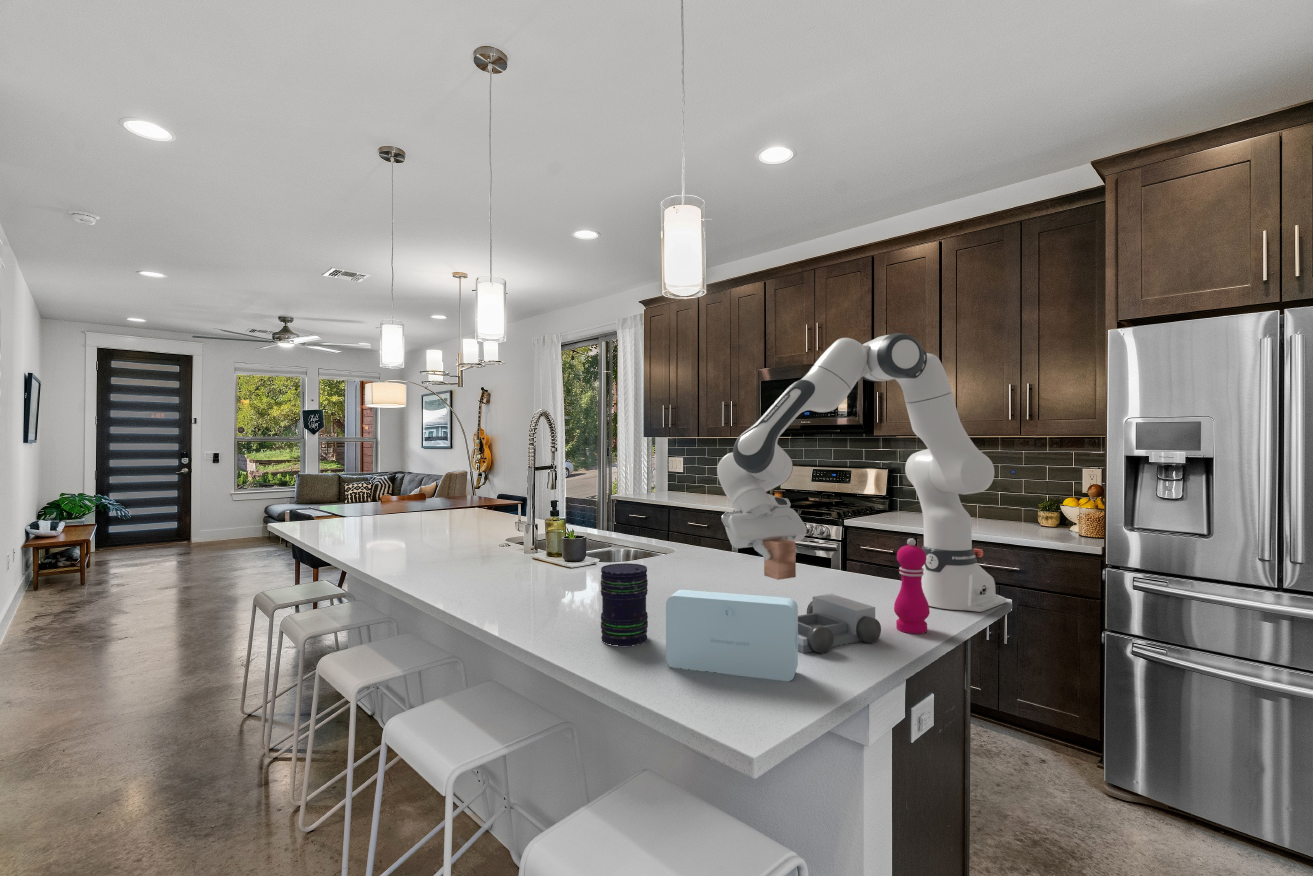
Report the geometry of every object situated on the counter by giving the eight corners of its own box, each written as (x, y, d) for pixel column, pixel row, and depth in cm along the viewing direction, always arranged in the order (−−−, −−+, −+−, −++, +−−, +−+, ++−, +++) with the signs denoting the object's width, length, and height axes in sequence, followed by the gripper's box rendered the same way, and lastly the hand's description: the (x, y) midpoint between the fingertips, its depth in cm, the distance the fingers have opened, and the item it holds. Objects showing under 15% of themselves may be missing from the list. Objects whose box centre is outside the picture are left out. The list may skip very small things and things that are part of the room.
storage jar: (592, 643, 130) (592, 570, 130) (612, 630, 139) (611, 562, 139) (637, 649, 127) (637, 574, 127) (654, 634, 136) (654, 565, 136)
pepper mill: (888, 630, 139) (888, 538, 139) (901, 622, 144) (901, 534, 144) (922, 637, 134) (922, 542, 134) (934, 629, 139) (934, 538, 139)
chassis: (826, 619, 147) (826, 591, 147) (884, 640, 132) (884, 609, 131) (756, 632, 137) (756, 602, 137) (810, 656, 122) (809, 622, 122)
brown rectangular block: (781, 573, 148) (781, 538, 148) (795, 577, 144) (795, 541, 143) (764, 575, 146) (763, 540, 146) (778, 579, 141) (777, 543, 141)
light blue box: (664, 669, 116) (664, 596, 116) (674, 658, 122) (673, 589, 122) (794, 684, 109) (793, 606, 109) (797, 672, 114) (797, 598, 114)
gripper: (723, 504, 146) (749, 553, 137) (793, 499, 155) (822, 544, 147) (713, 521, 150) (738, 570, 141) (782, 515, 159) (809, 560, 151)
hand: (781, 557), depth 144 cm, fingers closed on brown rectangular block, 5 cm apart
